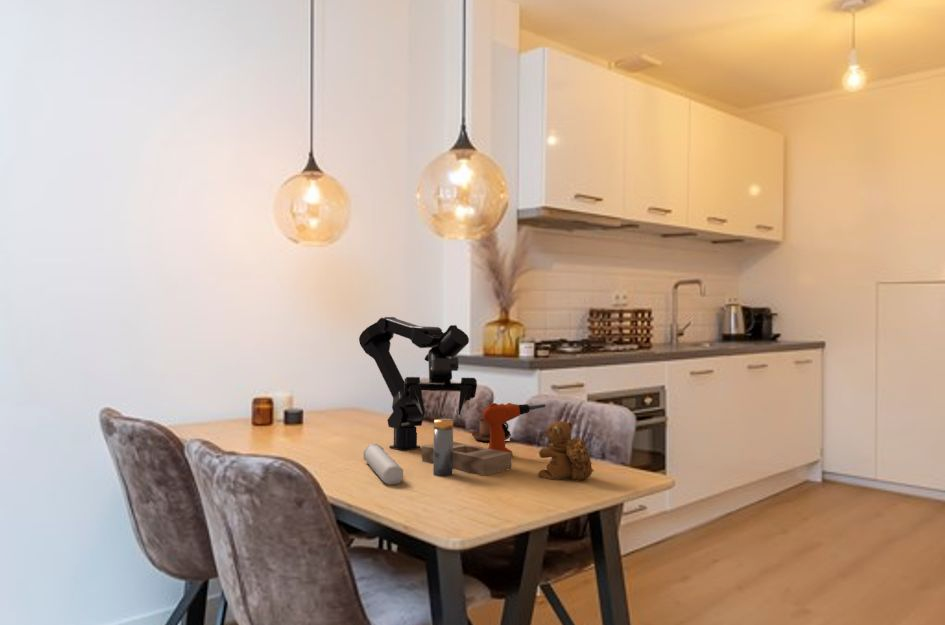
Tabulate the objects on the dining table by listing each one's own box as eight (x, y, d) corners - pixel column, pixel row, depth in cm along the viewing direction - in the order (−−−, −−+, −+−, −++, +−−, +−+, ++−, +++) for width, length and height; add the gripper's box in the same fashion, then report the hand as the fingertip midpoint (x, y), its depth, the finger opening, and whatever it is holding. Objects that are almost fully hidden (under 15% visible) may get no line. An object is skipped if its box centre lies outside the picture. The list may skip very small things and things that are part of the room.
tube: (409, 468, 155) (386, 446, 178) (387, 462, 153) (367, 441, 177) (401, 491, 154) (379, 466, 178) (379, 485, 152) (360, 461, 176)
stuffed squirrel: (558, 469, 172) (559, 416, 172) (604, 480, 162) (605, 424, 162) (531, 475, 165) (532, 420, 165) (577, 487, 155) (578, 428, 155)
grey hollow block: (422, 461, 179) (422, 445, 179) (449, 455, 187) (449, 440, 187) (484, 475, 164) (484, 458, 164) (511, 469, 171) (511, 453, 171)
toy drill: (553, 450, 188) (547, 396, 188) (488, 462, 183) (481, 406, 183) (546, 446, 193) (541, 393, 192) (482, 458, 188) (476, 404, 187)
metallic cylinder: (429, 474, 165) (430, 420, 165) (443, 471, 169) (443, 418, 169) (442, 477, 162) (443, 422, 162) (456, 474, 165) (457, 420, 165)
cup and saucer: (488, 435, 219) (488, 416, 219) (518, 440, 212) (518, 420, 212) (463, 440, 210) (463, 420, 210) (494, 445, 202) (494, 424, 202)
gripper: (405, 345, 177) (405, 394, 166) (477, 346, 179) (481, 394, 169) (404, 373, 185) (403, 420, 174) (472, 373, 187) (476, 421, 177)
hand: (441, 414), depth 173 cm, fingers open, 9 cm apart
